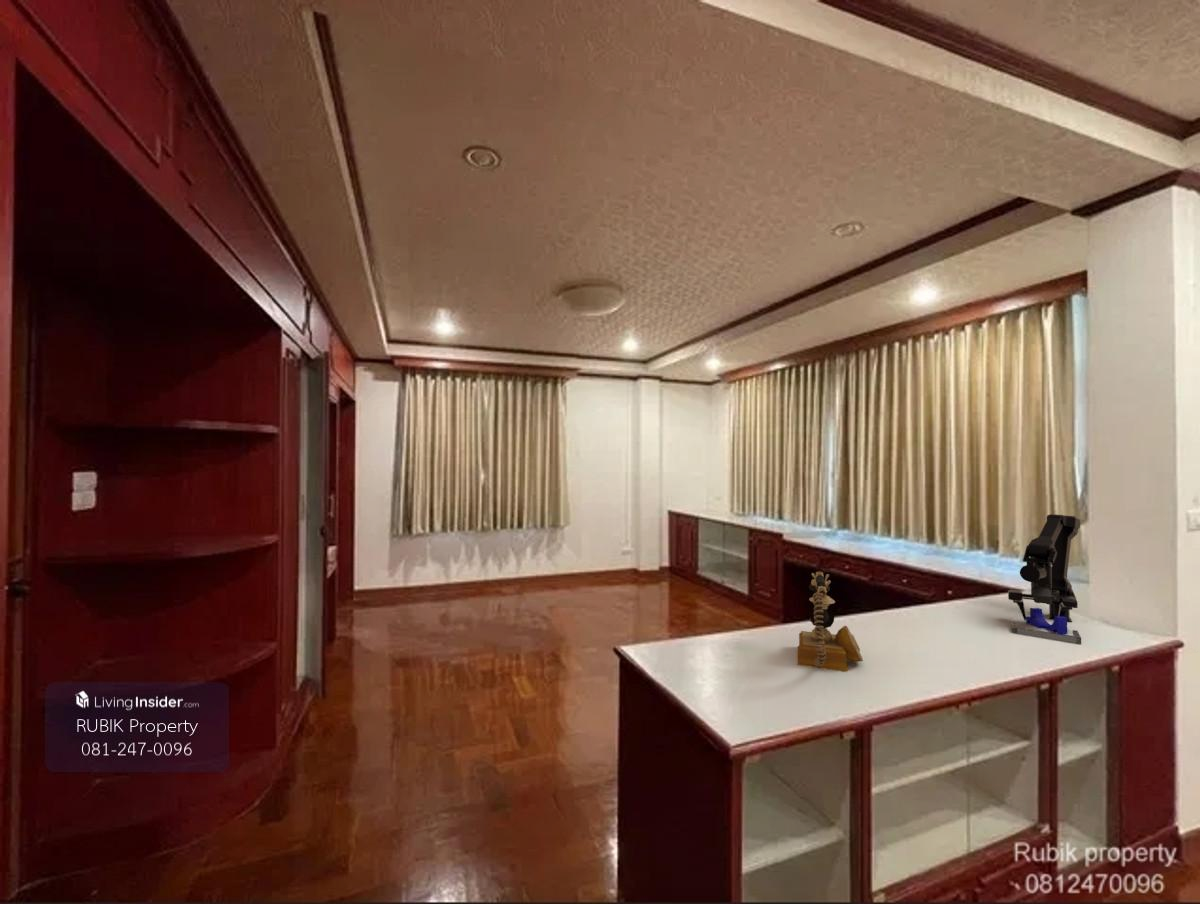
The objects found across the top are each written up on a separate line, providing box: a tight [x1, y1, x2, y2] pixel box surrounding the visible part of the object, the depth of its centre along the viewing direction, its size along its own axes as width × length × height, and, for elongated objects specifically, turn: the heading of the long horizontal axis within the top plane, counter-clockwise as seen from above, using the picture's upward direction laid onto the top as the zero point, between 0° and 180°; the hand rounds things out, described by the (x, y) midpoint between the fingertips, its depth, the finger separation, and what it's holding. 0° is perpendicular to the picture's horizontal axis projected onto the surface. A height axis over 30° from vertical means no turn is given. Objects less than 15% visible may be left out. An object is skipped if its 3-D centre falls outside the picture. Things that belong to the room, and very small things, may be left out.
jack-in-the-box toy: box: [796, 571, 864, 672], centre depth 152 cm, size 35×18×25 cm, turn 159°
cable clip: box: [1025, 607, 1068, 635], centre depth 187 cm, size 12×4×6 cm, turn 179°
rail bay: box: [1011, 621, 1082, 645], centre depth 180 cm, size 9×17×2 cm, turn 54°
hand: (1041, 622), depth 189 cm, fingers open, 9 cm apart
